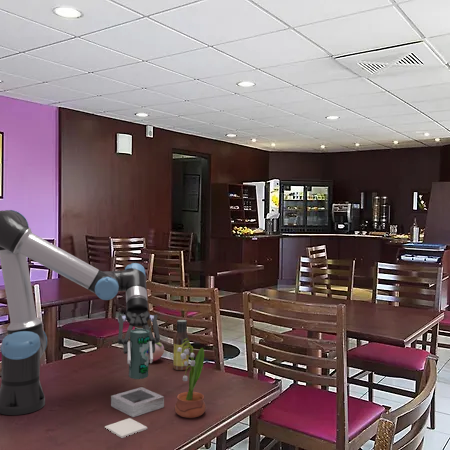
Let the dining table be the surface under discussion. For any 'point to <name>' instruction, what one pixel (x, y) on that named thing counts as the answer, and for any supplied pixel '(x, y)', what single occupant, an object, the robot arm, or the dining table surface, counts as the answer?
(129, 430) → the tile
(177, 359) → the sauce bottle
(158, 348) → the decorative fruit
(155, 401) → the collar
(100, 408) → the dining table surface
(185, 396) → the potted flower
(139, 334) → the can
